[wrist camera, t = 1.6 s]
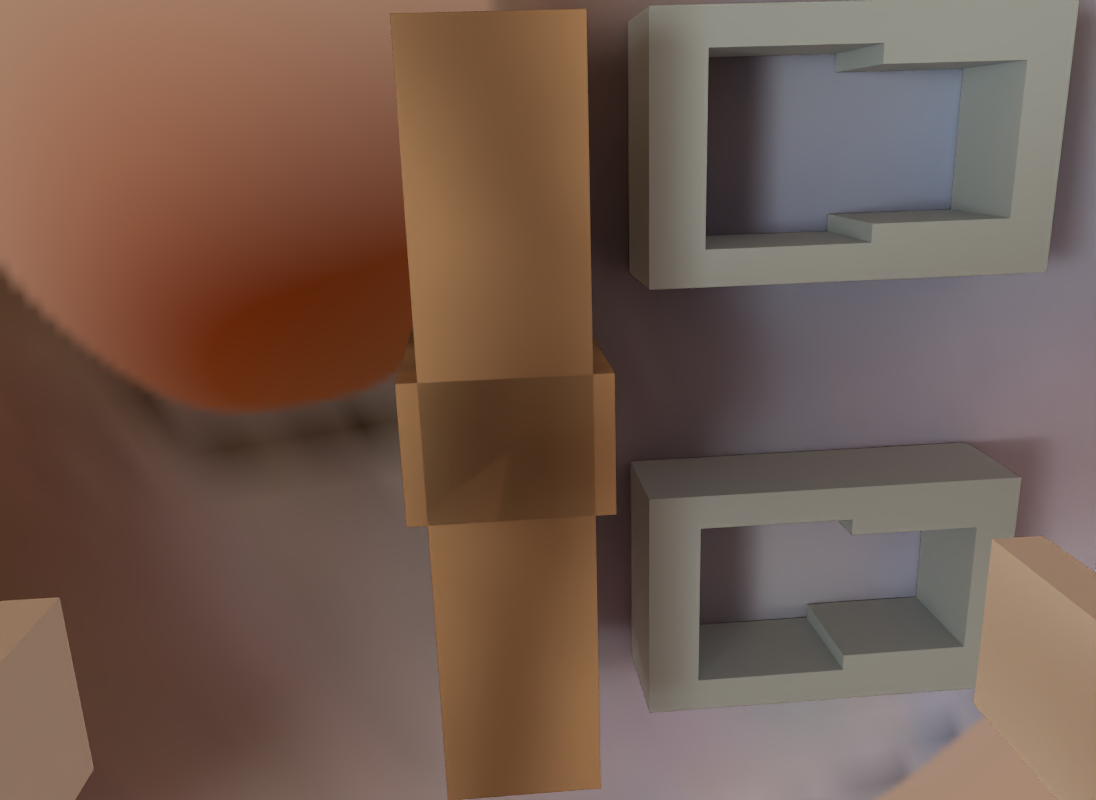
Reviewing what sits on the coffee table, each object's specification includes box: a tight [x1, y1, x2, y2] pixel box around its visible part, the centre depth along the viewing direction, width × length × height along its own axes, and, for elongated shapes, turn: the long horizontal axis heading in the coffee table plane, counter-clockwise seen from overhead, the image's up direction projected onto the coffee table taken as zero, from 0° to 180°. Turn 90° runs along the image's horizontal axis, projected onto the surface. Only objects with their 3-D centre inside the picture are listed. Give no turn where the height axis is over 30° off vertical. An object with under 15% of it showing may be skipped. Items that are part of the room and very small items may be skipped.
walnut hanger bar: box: [390, 9, 616, 800], centre depth 25 cm, size 5×19×7 cm, turn 2°
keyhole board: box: [628, 0, 1079, 713], centre depth 27 cm, size 11×20×3 cm, turn 2°
